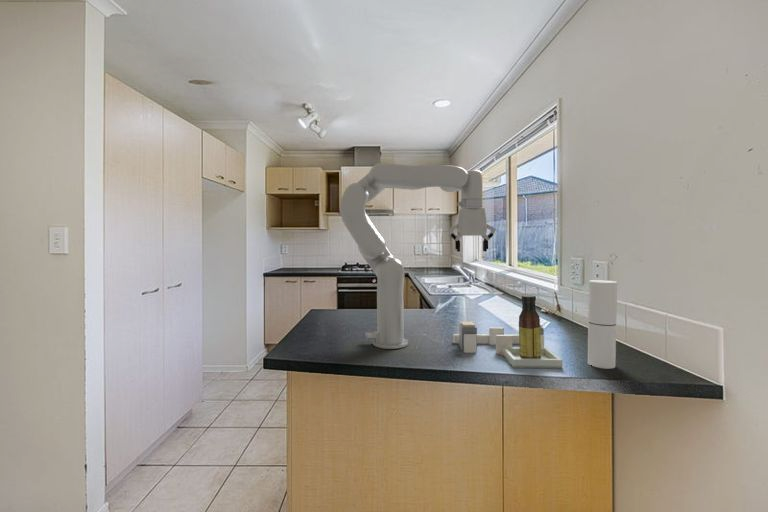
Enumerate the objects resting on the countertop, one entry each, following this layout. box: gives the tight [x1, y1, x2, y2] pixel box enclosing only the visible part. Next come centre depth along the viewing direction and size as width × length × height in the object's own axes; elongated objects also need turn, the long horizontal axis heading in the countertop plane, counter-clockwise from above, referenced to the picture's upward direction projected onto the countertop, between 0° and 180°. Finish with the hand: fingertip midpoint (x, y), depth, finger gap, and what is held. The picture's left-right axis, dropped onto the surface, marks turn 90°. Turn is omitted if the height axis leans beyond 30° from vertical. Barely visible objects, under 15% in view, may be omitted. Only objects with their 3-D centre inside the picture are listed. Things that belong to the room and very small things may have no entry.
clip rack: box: [452, 321, 545, 357], centre depth 125 cm, size 30×15×9 cm, turn 87°
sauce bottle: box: [518, 294, 541, 359], centre depth 112 cm, size 7×6×20 cm
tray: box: [502, 347, 563, 370], centre depth 112 cm, size 14×12×2 cm
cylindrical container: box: [587, 279, 618, 370], centre depth 108 cm, size 7×7×25 cm
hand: (471, 251), depth 134 cm, fingers open, 9 cm apart
